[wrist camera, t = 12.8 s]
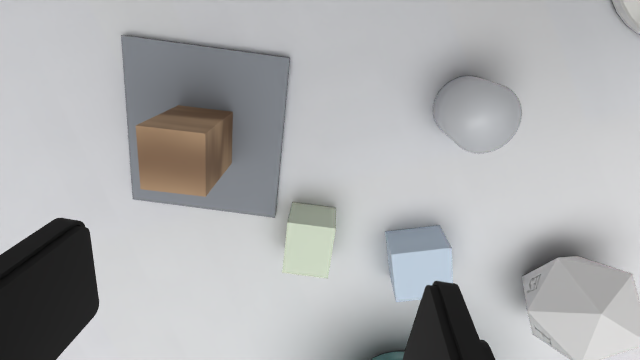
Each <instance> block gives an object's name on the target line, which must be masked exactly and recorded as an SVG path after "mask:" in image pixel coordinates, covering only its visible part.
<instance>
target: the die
mask: <svg viewBox="0 0 640 360" xmlns="http://www.w3.org/2000/svg"><path fill="white" fill-rule="evenodd" d="M522 280H523V287H524V293H525V300H526V307H527V313H528V317H529V321H530V325H531V329H532V334H533V335H534V336H536V337H537V338H539V339H540V340H542V341H543V342H545V343H546V344H548V345H549V346H551V347H552V348H554V349H555V350H557V351H558V352H560V353H561V354H563V355H564V356H566V357H567V358H569V359H570V360H601V359H605V358H608V357H611V356H614V355H617V354H621V353H624V352H627V351H630V350H633V349H637V348H640V301H639V297H638V293H637V289H636V285H635V281H634V277H633V274H631V273H628V272H625V271H622V270H619V269H616V268H613V267H610V266H607V265H604V264H601V263H597V262H594V261H591V260H588V259H585V258H582V257H579V256H571V257H559V258H556V259H554V260H552V261H550V262H549V263H547V264H545V265H543V266H541V267H539V268H537V269H535V270H533V271H532V272H530V273H528V274H526V275H524V276H522Z"/></svg>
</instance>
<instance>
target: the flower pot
mask: <svg viewBox="0 0 640 360" xmlns="http://www.w3.org/2000/svg"><path fill="white" fill-rule="evenodd" d="M403 355H404V352H390V353H385V354H382V355H379V356H377V357H375V358H373V359H371V360H403Z"/></svg>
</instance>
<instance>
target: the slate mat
mask: <svg viewBox="0 0 640 360" xmlns="http://www.w3.org/2000/svg"><path fill="white" fill-rule="evenodd" d="M121 40H122V54H123V68H124V83H125V97H126V111H127V125H128V139H129V153H130V167H131V181H132V195H133V199H135V200H142V201H150V202H158V203H166V204H173V205H181V206H189V207H196V208H204V209H212V210H219V211H227V212H235V213H243V214H250V215H258V216H266V217H273V218H275V215H276V204H277V193H278V182H279V172H280V161H281V150H282V139H283V128H284V117H285V106H286V96H287V85H288V74H289V63H290V58H287V57H280V56H273V55H265V54H258V53H251V52H244V51H236V50H229V49H222V48H214V47H207V46H200V45H192V44H185V43H178V42H170V41H163V40H156V39H148V38H141V37H134V36H126V35H121ZM178 105H180V106H189V107H197V108H205V109H214V110H222V111H231V112H233V131H232V164H231V165H230V166H229V167H228V169H227V170H226V171H225V173H224V174H223V175H222V176H221V178H220V179H219V180H218V182H217V183H216V184H215V185H214V187H213V188H212V189H211V191H210V192H209V193H208V194H207V196H206V197H203V196H194V195H186V194H177V193H169V192H160V191H152V190H143V189H140V176H139V163H138V150H137V137H136V125H138V124H140V123H142V122H144V121H146V120H148V119H150V118H152V117H154V116H157V115H159V114H161V113H163V112H165V111H167V110H169V109H171V108H174V107H176V106H178Z"/></svg>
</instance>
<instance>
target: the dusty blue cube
mask: <svg viewBox="0 0 640 360" xmlns="http://www.w3.org/2000/svg"><path fill="white" fill-rule="evenodd" d="M385 234H386V243H387V253H388V262H389V271H390V278H391V282H392V286H393V291H394V295H395V299H396V302H401V301H411V300H420V299H422V296H423V292H424V289H425V287H426V285H432V284H433V282H434V281H442V282H448V283H453V271H452V247H451V245H450V244H449V242H448V240H447V238H446V236H445V234H444V233H443V231H442V229H441V227H440V225H436V226H428V227H419V228H411V229H403V230H394V231H386V232H385Z"/></svg>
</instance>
